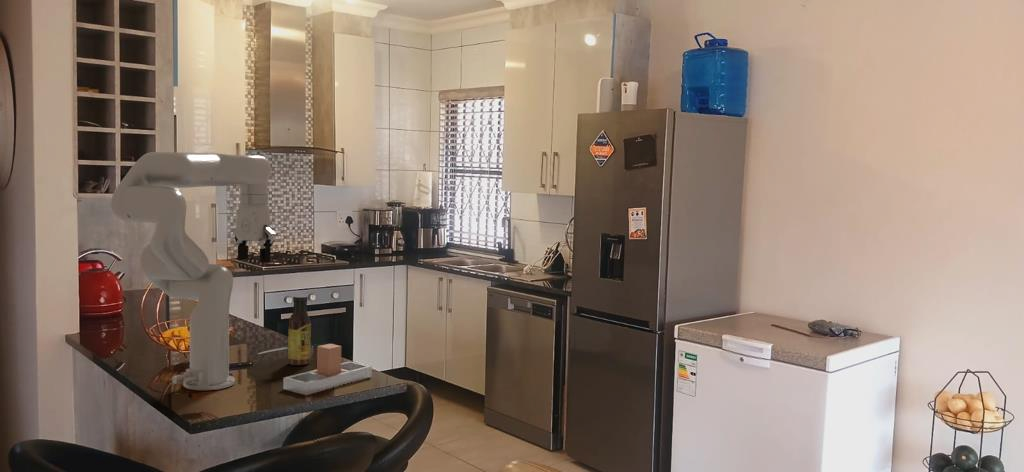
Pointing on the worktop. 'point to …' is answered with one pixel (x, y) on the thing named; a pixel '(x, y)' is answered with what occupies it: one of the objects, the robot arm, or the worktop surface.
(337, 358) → the square peg
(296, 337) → the sauce bottle
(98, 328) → the worktop surface
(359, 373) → the hole rail
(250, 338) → the worktop surface
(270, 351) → the chef's knife
